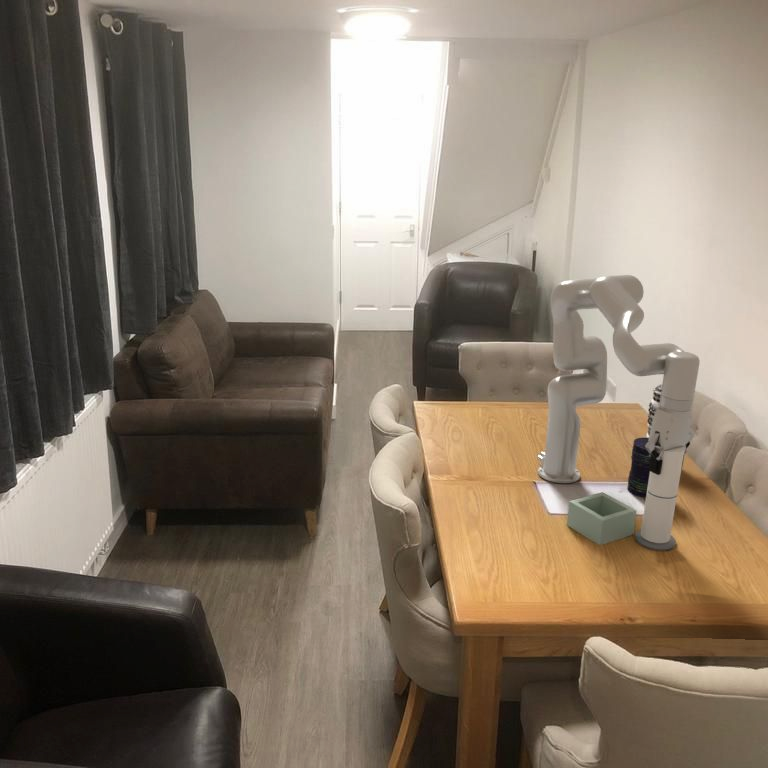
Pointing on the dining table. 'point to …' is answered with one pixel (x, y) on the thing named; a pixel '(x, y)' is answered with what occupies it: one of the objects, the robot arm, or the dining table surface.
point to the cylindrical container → (662, 497)
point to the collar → (601, 518)
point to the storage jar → (639, 468)
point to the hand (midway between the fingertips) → (665, 469)
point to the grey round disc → (655, 546)
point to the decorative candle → (653, 406)
